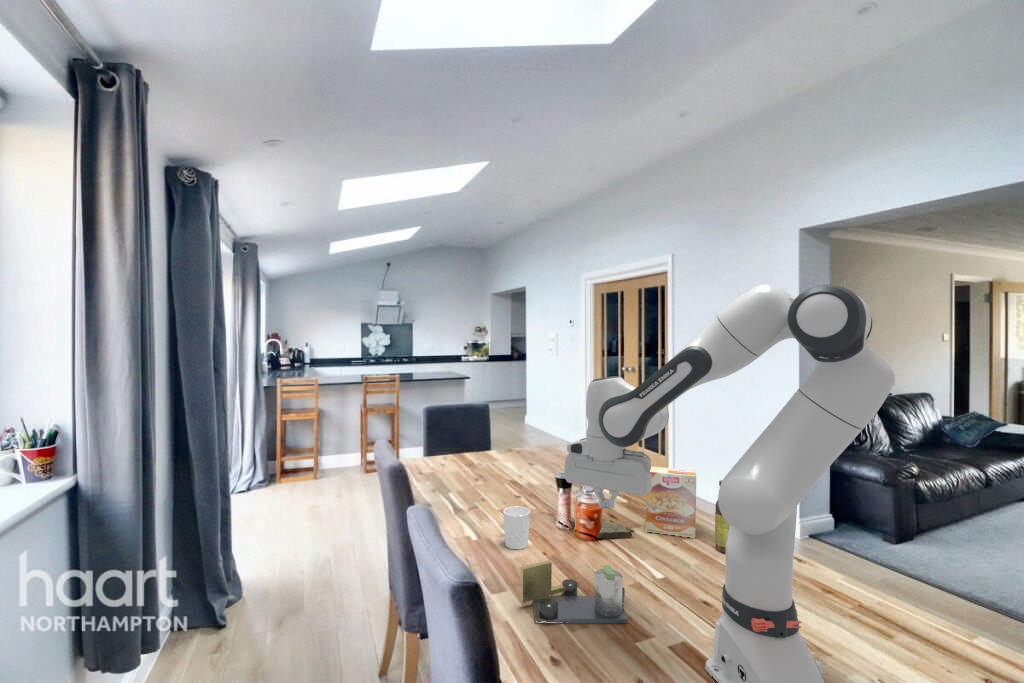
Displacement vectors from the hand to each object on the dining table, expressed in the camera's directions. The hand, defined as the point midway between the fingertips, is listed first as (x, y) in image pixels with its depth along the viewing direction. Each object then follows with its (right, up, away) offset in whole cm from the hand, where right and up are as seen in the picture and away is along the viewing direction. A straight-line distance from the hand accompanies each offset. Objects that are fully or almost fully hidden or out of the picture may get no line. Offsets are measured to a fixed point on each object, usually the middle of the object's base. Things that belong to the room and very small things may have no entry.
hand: (606, 507), depth 109 cm
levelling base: (-7, -22, -2) cm, 23 cm away
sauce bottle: (+41, -23, +30) cm, 55 cm away
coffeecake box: (+28, -23, +42) cm, 56 cm away
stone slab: (+4, -23, +43) cm, 49 cm away
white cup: (-20, -22, +32) cm, 44 cm away
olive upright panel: (-13, -22, +2) cm, 26 cm away
